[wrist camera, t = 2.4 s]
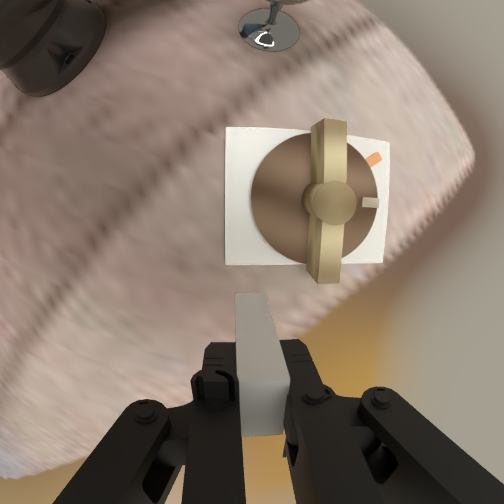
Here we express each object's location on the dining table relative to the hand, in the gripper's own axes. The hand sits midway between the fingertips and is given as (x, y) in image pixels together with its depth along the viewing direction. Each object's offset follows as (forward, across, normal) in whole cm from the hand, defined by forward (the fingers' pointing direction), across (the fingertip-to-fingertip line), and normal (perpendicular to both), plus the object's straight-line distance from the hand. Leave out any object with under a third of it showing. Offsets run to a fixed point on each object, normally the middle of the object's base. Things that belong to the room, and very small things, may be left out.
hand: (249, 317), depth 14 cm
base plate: (+16, +7, +5) cm, 19 cm away
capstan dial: (+14, +7, +5) cm, 17 cm away
